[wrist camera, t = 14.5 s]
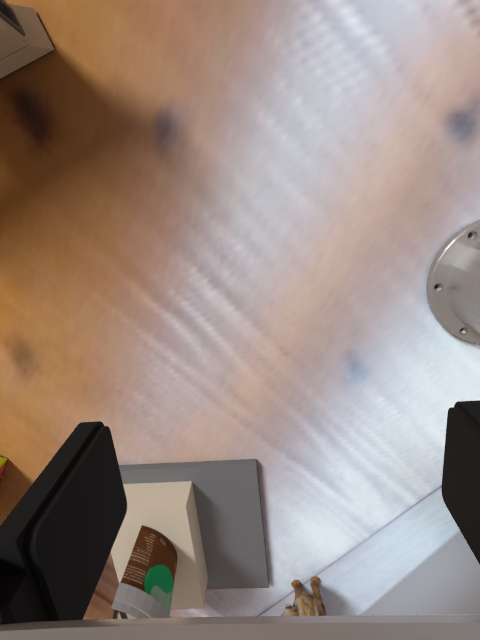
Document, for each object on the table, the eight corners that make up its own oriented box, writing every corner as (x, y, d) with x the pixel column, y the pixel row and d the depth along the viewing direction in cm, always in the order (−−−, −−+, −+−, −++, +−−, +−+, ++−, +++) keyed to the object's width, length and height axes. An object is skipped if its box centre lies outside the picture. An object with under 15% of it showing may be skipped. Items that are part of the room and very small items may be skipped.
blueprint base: (256, 459, 47) (255, 489, 43) (268, 580, 54) (269, 618, 49) (96, 466, 49) (78, 496, 44) (126, 583, 55) (114, 620, 51)
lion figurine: (277, 560, 53) (279, 633, 44) (316, 556, 52) (327, 629, 43) (294, 635, 57) (300, 714, 49) (331, 632, 57) (343, 712, 48)
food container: (177, 600, 49) (157, 700, 39) (129, 590, 49) (97, 687, 39) (196, 526, 45) (178, 618, 35) (143, 515, 45) (111, 603, 35)
